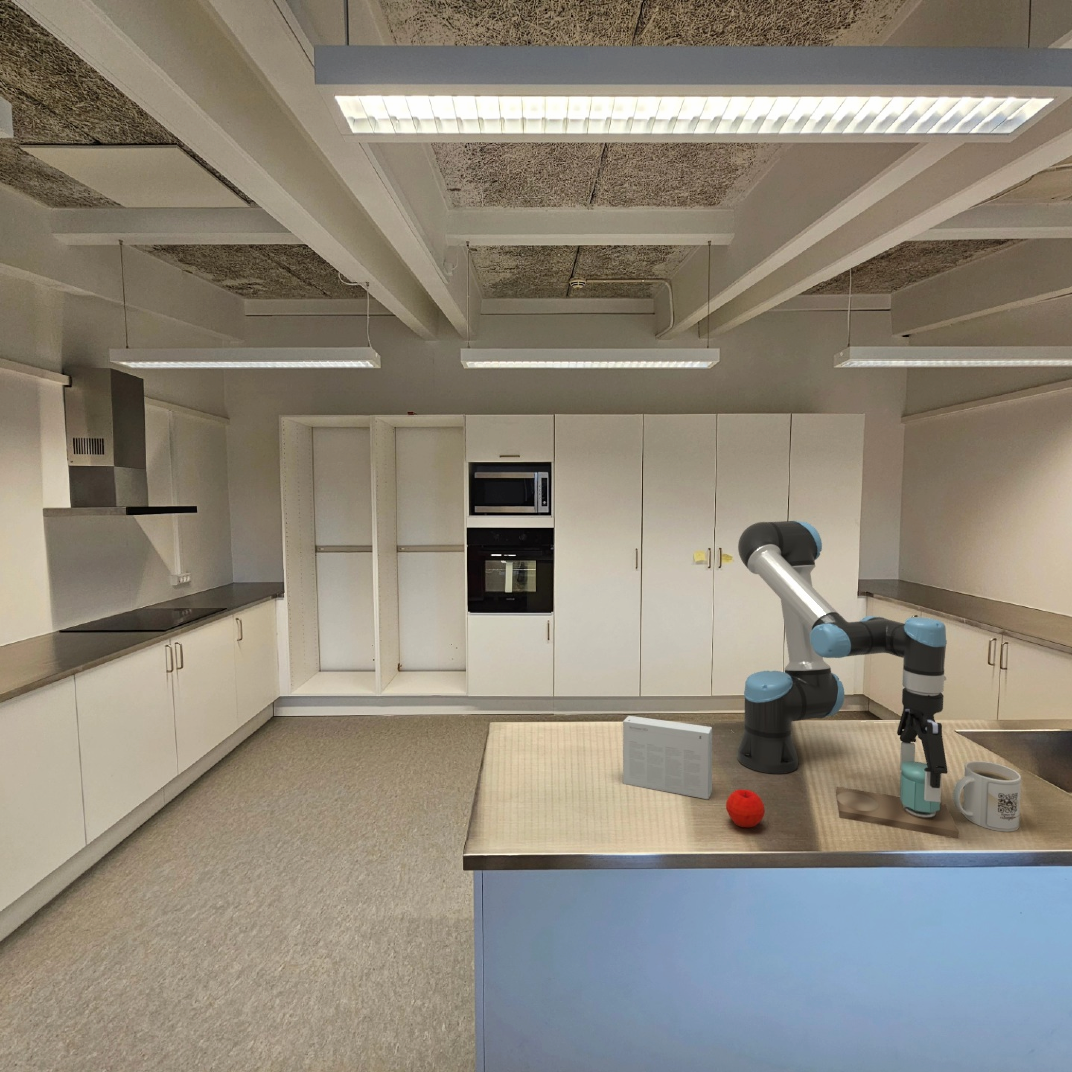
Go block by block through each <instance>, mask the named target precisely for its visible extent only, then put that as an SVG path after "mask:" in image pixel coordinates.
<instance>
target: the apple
mask: <svg viewBox="0 0 1072 1072" xmlns="http://www.w3.org/2000/svg"><path fill="white" fill-rule="evenodd" d="M725 804H726V805H725V808H726V811H727V814H728V815H729V818H730V819H731V820H732V821H733V823H734V824H735V825H736V826H738V827H741V828H754V827H755V826H757V825H758V824H759V823H760V822H761V821H762V820H763V819H764V816H765V813H766V810H765V804H764V802H763V801H762V799H761V797H760V796H759V795H758V794H757V793H756V792H754V791H751V790H748V789H736V790H734V791H733V792H731V793H730V795H729V796H728V798H727V799H726V803H725Z"/></svg>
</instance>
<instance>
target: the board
mask: <svg viewBox="0 0 1072 1072" xmlns="http://www.w3.org/2000/svg"><path fill="white" fill-rule="evenodd" d="M835 789H836V791H835V792H836V793H835V794H836V795H835V796H836V801H837V810H838V817H839V818H842V819H846V820H851V821H859V822H863V823H870V824H875V825H879V826H886V827H891V828H896V829H897V828H898V829H903V830H909V831H915V832H920V833H925V834H932V835H936V836H941V837H942V836H943V837H948V838H953V839H959V829H958V828H957V826H956V823H955V821H954V819H953V817H952V814H951V812H950V810H949V808H948V807H947V804H946V803H943V802H942V803H941V802H940V810H938V811H936V816H935V818H932V819H922V818H917V817H914V816H912V815H909V814H908V813H906V812H905V811H904V809H903V804H902V802H901V800H900V796H898V795H892V794H886V793H885V794H883V793H879V792H872V791H866V790H861V789H853V788H849V787H843V786H842V787H841V786H835Z"/></svg>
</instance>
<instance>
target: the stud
mask: <svg viewBox="0 0 1072 1072" xmlns="http://www.w3.org/2000/svg"><path fill="white" fill-rule="evenodd" d="M903 809H904V811H905V812H906V813H908V814H909V815H912V816H914V817H917V818H922V819H932V818H935V816H936V811H935V812H930V813H929V812H923V811H917V810H913V809H911V808H909V807H907V806H905V805H903Z"/></svg>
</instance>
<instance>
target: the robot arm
mask: <svg viewBox="0 0 1072 1072" xmlns="http://www.w3.org/2000/svg"><path fill="white" fill-rule="evenodd" d="M737 543H738V545H737V551H738V555H739V558H740V560H741V562H742V563H743V564H744V566H745V567H746V569H748V570H749V572H750V573H752V574H754V575H758V576H759V577H760V578H761V579H762V580H763V581H764V583H766V585H767V586H768V587H769V588H770V589H771V590H772V591H773V592H774V593H775V594H776V595H777V596H778V597H779V599H780V604H781V611H782V619H783V624H784V631H785V632H784V633H785V640H786V646H787V654H788V661H789V662H788V664H787V665H786V666H785V667H784V672H783V671H779V670H762V671H758V672H754V673H751V674H750V675H748V677H746V680H745V683H744V684H745V686H744V691H743V695H744V727H743V728H744V729H743V734H742V736H741V739H740V742H739V744H738V746H737V752H736V753H737V757H736V758H737V761H738V762H739V763H740V764H741V765H743V766H744V767H746V768H748V769H751V770H754V771H757V772H760V773H766V774H773V775H774V774H777V775H778V774H781V775H782V774H788V773H791V772H794V771H796V770H797V768H798V766H799V756H798V754H797V750H796V747H795V744H794V741H793V738H792V723H793V722H799V721H804V720H812V719H824V718H826V717H831V716H834V715H836V714H837V713H839V711H840V710H841V709H842V708H843V704H844V702H845V688H844V685H843V682H842V681H841V680H840V678H839V676H838V675H836V674H835V673H833V672H832V668H831V666H830V665H829V664H828V663H827V662H826V661H825V660H824V658H825V659H834V658H835V659H841V658H845V657H854V656H864V655H865V656H866V655H874V654H890V655H892V656H895V657H899V658H902V659H903V662H902V663H903V665H902V666H903V668H902V681H901V682H902V683H901V685H902V687H903V688H902V690H901V691H902V694H901V695H902V696H901V704H902V705H903V709H902V713H901V716H900V720H899V723H898V726H897V727H898V728H897V730H896V734H897V736H899V740H900V762H899V770H900V772H902V763H904V762H908V761H915V762H916V759H915V758H916V744H915V743H917V738H918V739H919V740H921V745H922V750H923V754H924V758H925V763H926V764H927V767H928V768H925V769H924V771H925V792H924V799H925V801H934V802H940V803H941V796H942V795H941V791H942V790H941V789H942V774H944V775H946V774H948V772H949V771H948V766H947V760H946V752H945V748H944V747H945V746H944V739H943V724H942V723H941V722H936V720H935V715H936V714H938V713H941V712H942V711H943V709H944V698H945V697H944V694H943V692H944V688H945V686H944V685H945V681H946V680H947V676H946V675H945V660H946V649H947V648H946V647H947V643H948V641H947V629H946V625H945V624H944V622H943V621H941V620H940V619H939V620H938V619H935V618H929V617H913V616H912V617H909V618H907V619H906V620H905V621H904V623H903V622H900V621H899V622H898V621H895V620H891V619H887V618H885V617H883V616H873V615H868V616H867V615H866V616H864V617H863V618H862V619H859V621H847V620H846V619H845V618H844V617H843V616H842V615H841V614H840V613H839V612H838V611H837V610H836V609H835V608H834V607H833V606H832V605H831V604H830V603H829V602H828V601H827V600H826V599H825V597H823V596H822V594H820V593H819V592H818V591H817V590H816V589H815V588H814V587H813V582H812V575H811V572H812V571H813V570H814V569H815V568H816V562H815V561H816V560H817V559H818V558H819V557H820V556H821V552H822V550H823V543H822V538H821V536H820V533H819V532H818V530H817V529H816V527H814V526H813V525H812V524H811V523H808V522H806V521H797V520H786V521H785V520H783V521H781V520H780V521H760V522H756V523H754V524H751V525H749V526H748V527H746V529H744V530H743V532H742V533H741V535H740V536H739V540H738V542H737Z"/></svg>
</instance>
